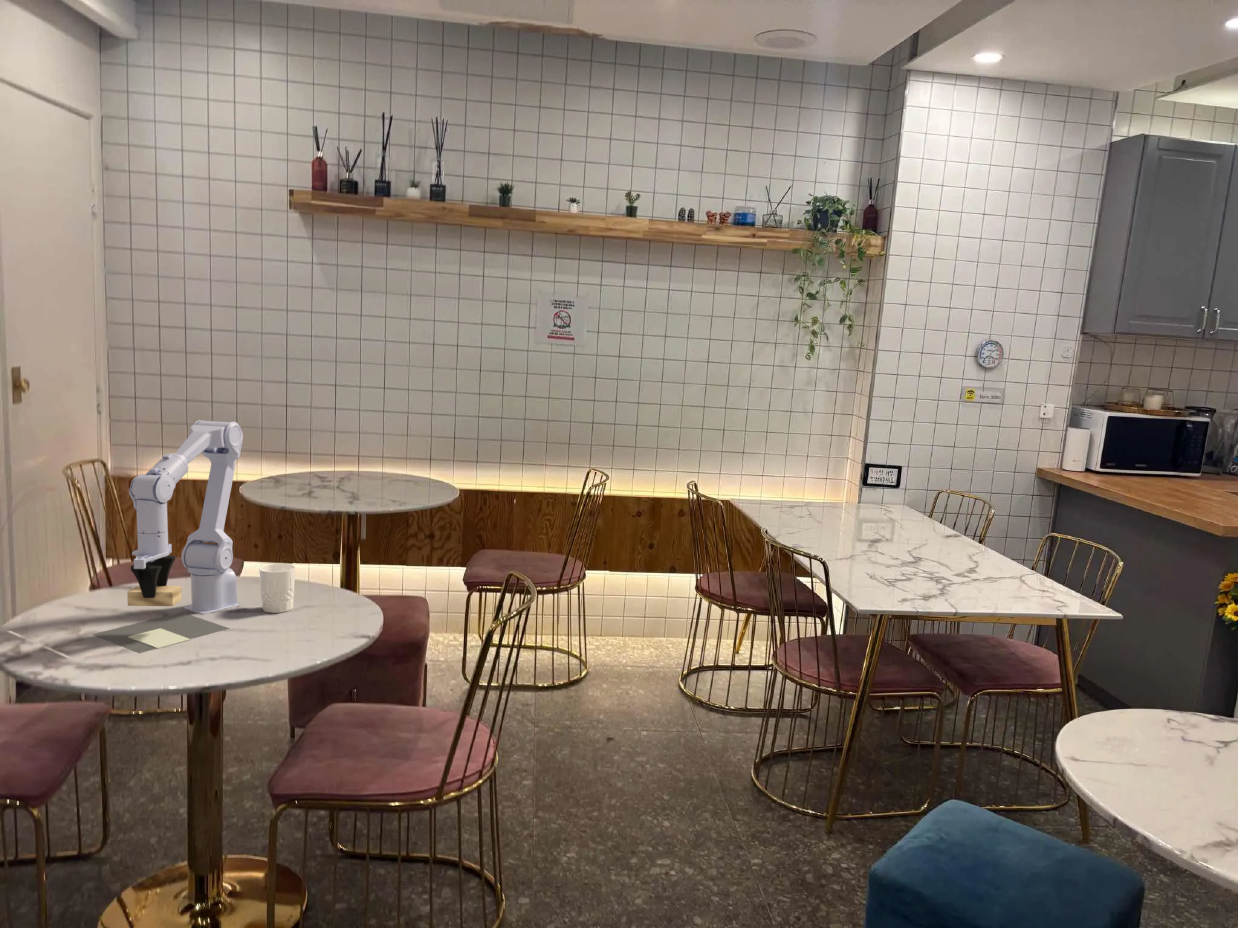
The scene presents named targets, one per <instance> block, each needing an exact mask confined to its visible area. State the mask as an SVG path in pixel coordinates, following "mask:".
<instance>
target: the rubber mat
mask: <svg viewBox="0 0 1238 928" xmlns="http://www.w3.org/2000/svg"><path fill="white" fill-rule="evenodd" d="M226 630H230V627H227V626H225V625H221V624H218V623H215V622H212V621H210V620H207V619H203V618H202V617H201V618H200V617H197V616H195V615H192V614H188V613H186V612H176V613H173V614H170V615H166V616H162V617H157V618H153V619H149V620H144V621H140V622H137V623H133V624H129V625H124V626H121V627H117V628H116V627H115V628H111V629H109V630H108V629H107V630H103V631H100V632H96V633H92V635H93V636H95V637H98V638H100V639H103V640H105V641H108V642H110V643H112V644H115V645H118V646H120V647H123V648H125V649H128V650H130V651H133V652H136V653H138V654H142V653H146V652H149V651H152V650H157V649H162V648H165V647H169V646H174V645H177V644H181V643H184V642H188V641H190V640H192V639H193V640H194V639H196V638H200V637H203V636H207V635H210V634H215V633H218V632H219V633H220V632H223V631H226Z"/></svg>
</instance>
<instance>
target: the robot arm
mask: <svg viewBox="0 0 1238 928" xmlns="http://www.w3.org/2000/svg"><path fill="white" fill-rule="evenodd" d="M188 433H189V434H188V437H187V438H186V439H185V441H184V442H183V443H182V444H181V445H180V446H179V448H178V449H177V450H176V451H175V452H174V453H173V452H169V453H164V454H163V455H162V456H161V459H159V460H158V461H157V462H156V463H155V464H154V465H153V466H152V467H151V468H150V469H149V470H148V471H147V472H146V473H144V474H143V473H142V474H138V475H137V476H135V477H134V478H133V479H132V481H131V482H130V487H129V488H128V494H129V496H130V498H131V500H132V503H133V508H134V510H136V534H137V535H136V536H137V537H136V538H137V549H135V550H134V551H132V553H131V555H132V556H135V558H134V559H133V564H132V565H131V566H130V571H131V572H132V574H133V575H134V577H135V578H136V580H137V582H138V586H140V589H141V592H142V595H143V598H154V597H155V594H156V587H157V586H168V585H167V584H168V580H169V576H170V573H171V572H170V571H171V569H172V566H173V564H174V562H175V561H176V555H170V554H171V553H172V552H173V551H172V549H173V548H172V543H169V531H168V530H169V529H168V501H170V500H171V499H172V497H173V494H174V490H175V489H176V484H177V483H179V481H180V480H181V479H182V478H183V477H185V475H186V474H187V473H188V471H189V464H190V463H191V462H192V461H194V459H196V458H197V457H198V456H200V454H201V455H202V456H203V457H205V458H207V459H208V460H209V462H210V463H211V464H210V467H209V468H210V469H209V474H208V478H207V479H208V480H207V484H206V491H205V496H204V501H203V507H202V511H201V518H200V522H199V526H198V529H197V530H195V531H193V532H192V533H190V534H189V535H188V536H187V538H186V539H187V540H186V543H185V546H183V549H182V551H181V556H180V557H181V562H182V565H183V567H184V568H186V569H187V573H189V574H190V592H191V604H189V605H185V606H183V609H185V610H189V611H191V612H194V613H197V614H200V615H207V614H211V613H215V612H218V611H223V610H227V609H231V608H235V607H239V606H240V603H238V581H237V576H236V573H235V572H234V570H233V569H232V568H230V567H231V565H232V563H233V559H234V554H233V543H234V542H233V540H232V538H231V537H230V536H228V534H227V533H225V523H226V518H227V514H228V507H229V501H230V496H231V492H232V488H233V487H232V485H233V479H234V475H235V470H236V464H237V460H238V459H240V458H241V457H240V455H241V452H242V446H243V440H244V434H243V433H244V432H243V431H242V429H241V426H240V425H239V423H238V422H236V421H212V420H211V421H210V420H202V419H198V420H196V421H195V422H194V423H193V425H191V426H189V432H188Z"/></svg>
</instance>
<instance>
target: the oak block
mask: <svg viewBox="0 0 1238 928" xmlns="http://www.w3.org/2000/svg"><path fill="white" fill-rule="evenodd" d="M126 593H127V594H126V595H127V607H174V606H175V605H176V604H178V603H180V602H181V601H182V599H183V598H182V585H166V586H157V587H156V594H155V597H154V598H143V595H142V592H141V589H140V586H139V585H136V586H134V587H132V588H131V589H129V590H128V591H127V592H126Z"/></svg>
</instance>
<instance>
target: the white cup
mask: <svg viewBox="0 0 1238 928" xmlns="http://www.w3.org/2000/svg"><path fill="white" fill-rule="evenodd" d="M295 581H296V566H295V565H293V564H291V563H271V564H266V565H263V566H261V567H259V584H260V596H261V604H262V610H263V612H266V613H269V612H270V614H271V613H272V614H277V613H278V614H279V613H280V614H281V613H286V612H289V611H292V609H294V598H295V585H296V584H295V583H296V582H295Z"/></svg>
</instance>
